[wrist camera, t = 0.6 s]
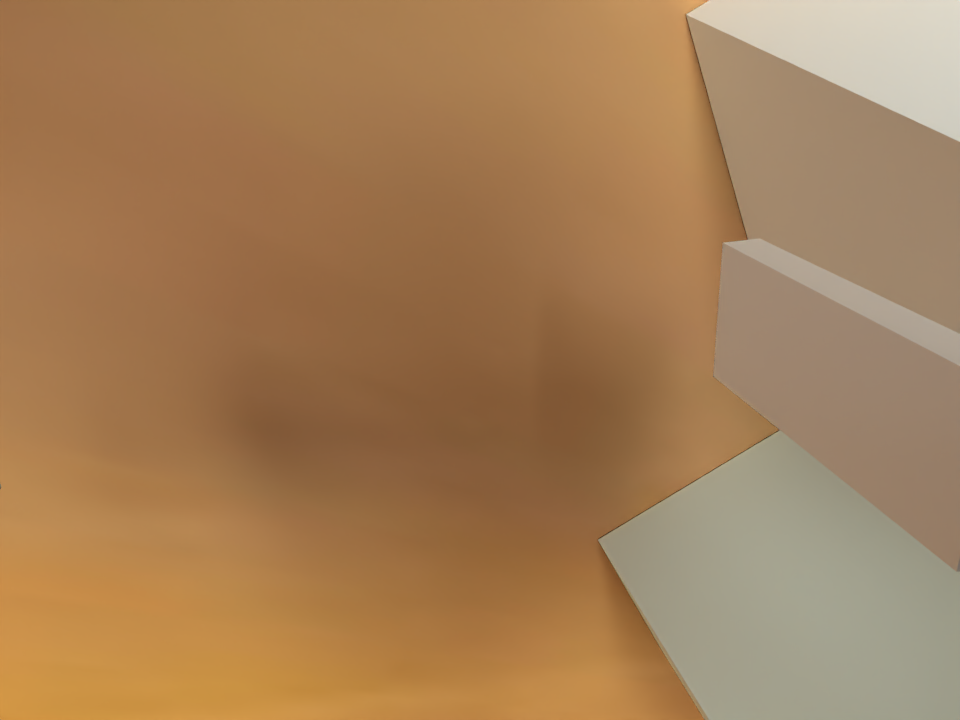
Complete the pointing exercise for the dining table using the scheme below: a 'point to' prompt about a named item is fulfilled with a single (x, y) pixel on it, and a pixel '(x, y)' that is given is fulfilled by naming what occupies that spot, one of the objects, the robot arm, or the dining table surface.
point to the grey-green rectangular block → (792, 596)
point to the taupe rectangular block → (845, 136)
